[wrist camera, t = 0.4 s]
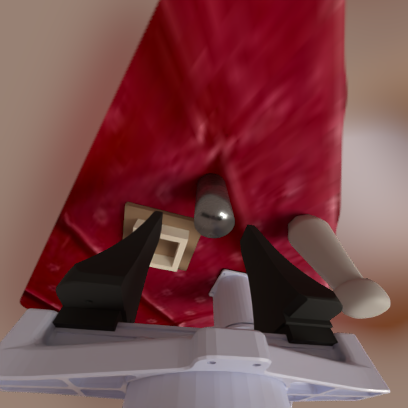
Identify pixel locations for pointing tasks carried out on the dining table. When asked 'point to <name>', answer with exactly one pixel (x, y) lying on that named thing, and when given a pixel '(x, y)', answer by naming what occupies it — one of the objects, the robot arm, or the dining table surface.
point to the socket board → (165, 236)
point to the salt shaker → (336, 267)
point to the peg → (213, 207)
